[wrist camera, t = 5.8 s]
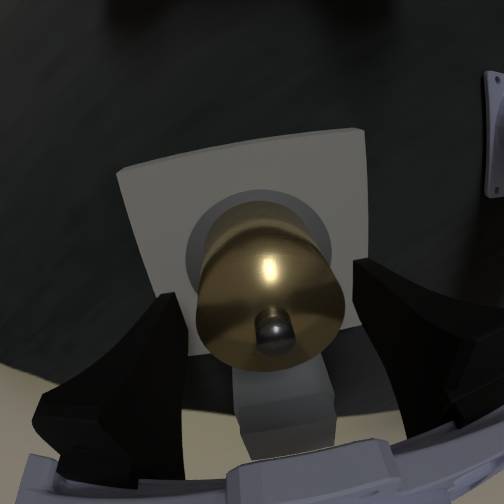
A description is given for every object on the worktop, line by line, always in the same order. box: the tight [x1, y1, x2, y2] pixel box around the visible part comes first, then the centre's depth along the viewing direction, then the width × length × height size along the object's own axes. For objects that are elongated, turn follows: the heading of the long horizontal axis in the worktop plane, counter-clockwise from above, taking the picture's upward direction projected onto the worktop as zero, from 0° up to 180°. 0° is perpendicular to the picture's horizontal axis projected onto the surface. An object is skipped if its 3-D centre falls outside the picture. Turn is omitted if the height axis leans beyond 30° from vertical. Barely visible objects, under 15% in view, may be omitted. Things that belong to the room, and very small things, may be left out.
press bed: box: [116, 128, 368, 460], centre depth 14 cm, size 11×14×7 cm
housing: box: [195, 201, 345, 372], centre depth 12 cm, size 5×5×6 cm
